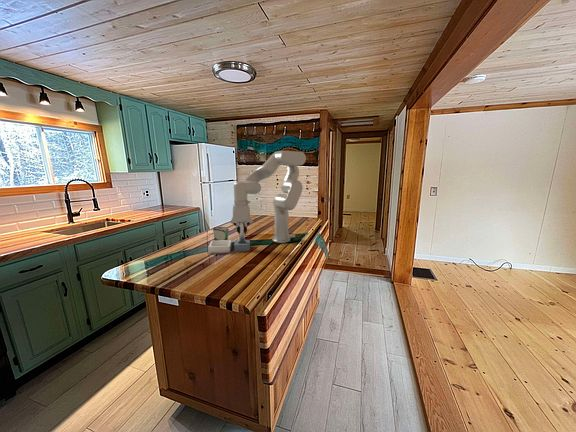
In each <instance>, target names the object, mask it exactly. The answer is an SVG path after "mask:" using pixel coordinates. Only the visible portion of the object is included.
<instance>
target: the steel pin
mask: <svg viewBox="0 0 576 432" xmlns="http://www.w3.org/2000/svg"><path fill="white" fill-rule="evenodd" d="M244 227H245V222H239V240H240V242H244V241H245V240H246V234H245V229H244Z"/></svg>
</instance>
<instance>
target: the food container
mask: <svg viewBox="0 0 576 432" xmlns="http://www.w3.org/2000/svg"><path fill="white" fill-rule="evenodd" d="M212 232H213V237H214V241H218V240H229V238H228V237H229V232H230V229H229V228H228V227H226V226H216V227H215V226H214V227H212Z"/></svg>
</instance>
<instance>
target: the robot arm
mask: <svg viewBox="0 0 576 432" xmlns="http://www.w3.org/2000/svg"><path fill="white" fill-rule="evenodd" d="M306 160H307V157H306V154H305V153H304V152H303V151H293V150H277V151H275V152H273V153H272V154H271V155H270V156H269V158H268V159H267V160H266V161H265V162H264V163H263V164H262V165H261V166H260V167H258V168H257V169H256V170H253V172H251V173H250V174H249V175H247V177H246V178H245V179H244V180H243V181H236V182H234V183H233V198H234V199H233V200H234V205H233V204H232V205H233V206H232V218H231V220H230V224H232V225H234V226H235V227H236V232H237V234H239V222H244V224H245V227H244V229H245V235H246V234H247V232H248V226H250V224H252V223H253V222H254V221H253V219H252V217H251V210H250V209H251V208H250V205H249V204H250V203H251V201H250V200H248V194H250V195H256V194H259V193H260V192H261V190H262V186H261V183H259V182H261V181H263V180H265V179H268V178H270V177H272V176H273V175H274V174H275V173H276V172H277V170H278V169H279V168H280V167H281V166H286V173H285V176H284V179H283V181H282V182H281V186H280V190H281V192H283V193H278V194H276V195H275V196H274V197H273V199H272V204H273V210H274V212H273V213H274V236H273V237H272V242H274V243H281V244H284V243H289V242H290V241H291V239H292V238H296V234H293V233H292V234H291V233H289V219H290V217H289V216H290V215H289V211H293V210H294V209H295V208H296V206H297V205H298V202H299V200H300V198H301V196H302V192H303V188H304V187H303V183H302V182H301V181H300V180H298V179H299V177H300V170H299V166H303V165H304V164H305V163H306Z"/></svg>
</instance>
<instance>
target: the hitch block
mask: <svg viewBox="0 0 576 432" xmlns="http://www.w3.org/2000/svg"><path fill="white" fill-rule="evenodd" d="M250 241H251V240H250V239H245V241H244V242H240V239H237V240H234V244H233V246H234V252H236V253H237V252H249V251H251V242H250Z"/></svg>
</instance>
